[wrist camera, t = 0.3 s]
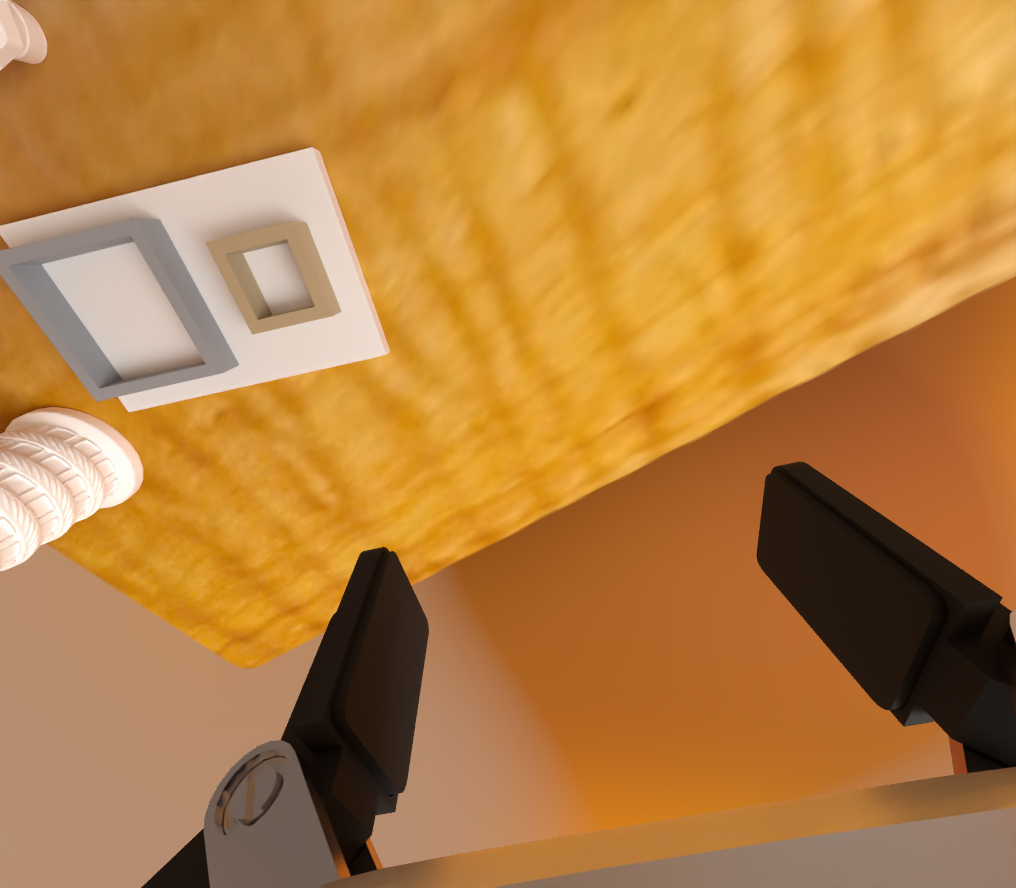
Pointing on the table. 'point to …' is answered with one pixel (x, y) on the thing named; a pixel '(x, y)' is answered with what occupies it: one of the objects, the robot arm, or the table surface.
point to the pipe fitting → (20, 35)
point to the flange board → (198, 283)
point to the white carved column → (58, 476)
